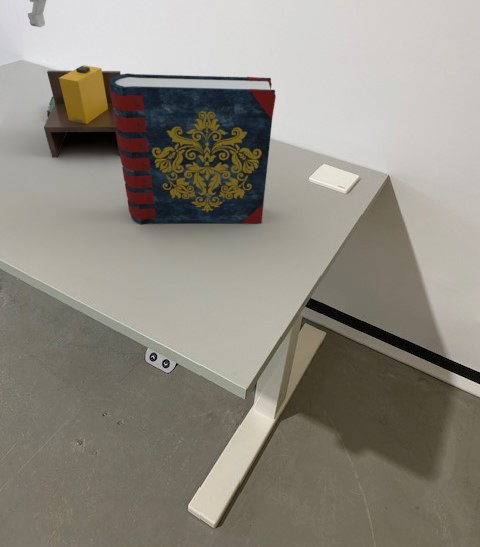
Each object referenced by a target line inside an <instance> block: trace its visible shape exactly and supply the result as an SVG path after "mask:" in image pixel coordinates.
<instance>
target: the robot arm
mask: <svg viewBox="0 0 480 547" xmlns="http://www.w3.org/2000/svg"><path fill="white" fill-rule="evenodd" d="M29 2H30V3H33V4H32V10H31V12H28V13H27V17H28V20H29V24H30V26H31V27H37V28H41V27H44V26H45V25H46V20H45V18H44V17H45V16H44V11H45V8H46V4H47V0H29Z"/></svg>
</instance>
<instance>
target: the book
mask: <svg viewBox="0 0 480 547" xmlns="http://www.w3.org/2000/svg"><path fill="white" fill-rule="evenodd" d="M109 89H110V94H111V99H112V104H113V107H114V110H113V113H114V118H115V123H116V127H117V130H116V132H117V137H118V142H119V146H120V156H119V157H120V163H121V166H122V167H121V169H122V176H123V181H124V188H125V194H126V198H127V205H128V212H129V215H130V217H131V220H133V222H135V223H136V224H139V225H147V224H262V222H263V212H264V204H265V193H266V184H267V175H268V173H267V172H268V164H269V154H270V145H271V136H272V125H273V116H274V112H275V110H274V109H275V104H276V89H272V79H271V77H257V76H220V75H219V76H215V75H183V74H182V75H181V74H180V75H179V74H177V75H176V74H146V73H145V74H143V73H142V74H141V73H140V74H139V73H128V72H127V73H121V75H117V76H115V77H112V78H111V79H110V88H109ZM116 132H115V133H116Z"/></svg>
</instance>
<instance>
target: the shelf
mask: <svg viewBox="0 0 480 547" xmlns="http://www.w3.org/2000/svg"><path fill="white" fill-rule="evenodd" d="M71 71H72V70H47V71H46V73H47V78H48V81H49V85H50V89H51V94H52V97H53V98H54V102H55V104H54V106H53V108H52V111H51V113H50V115H49V117H48V116H47V118H46V121H45V124H44V125H43V130H44V134H45V137H46V140H47V144H48V148H49V152H50V155H51V158H58V156H59V154H60V151H61V149H62V146H63V143H64V140H65V138H66V135H67V133H113V132H114V133H115V138H116V143H117V144H116V145H117V149H118V156H119V157H120V146H119V142H118V137H117V132H116V130H117V127H116V123H115V118H114V113H113V110H114V107H113V104H112V99H111V94H110V89H109V88H110V79H111V78H112V77H115V76H117V75H121V74H122V73H121V70H102V75H103V81H104V87H105V93H106V99H107V105H108V109H107V110H106V111H104V112H103V113H102V114H100V115H99V116H97V117H96V118H95V119H93V120H92V121H90V122H89V123H87V124H84V123H79V122H74V121H69V119H68V115H67V110H66V106H65V102H64V98H63V93H62V89H61V85H60V81H59V78H60V77H62V76H64V75H66V74H67V73H69V72H71Z"/></svg>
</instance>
